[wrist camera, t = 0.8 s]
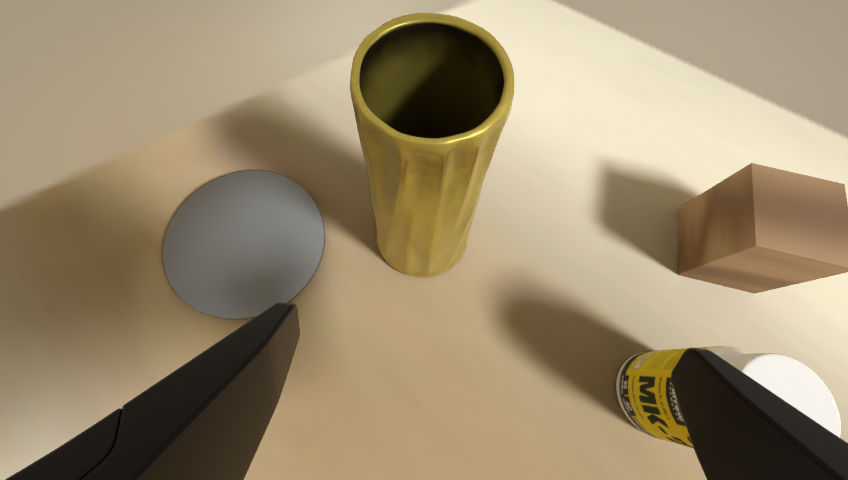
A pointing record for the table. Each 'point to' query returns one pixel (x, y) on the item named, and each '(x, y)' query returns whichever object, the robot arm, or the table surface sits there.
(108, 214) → the table surface
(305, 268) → the mat
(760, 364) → the supplement bottle
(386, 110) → the vase
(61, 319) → the table surface
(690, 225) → the walnut block
